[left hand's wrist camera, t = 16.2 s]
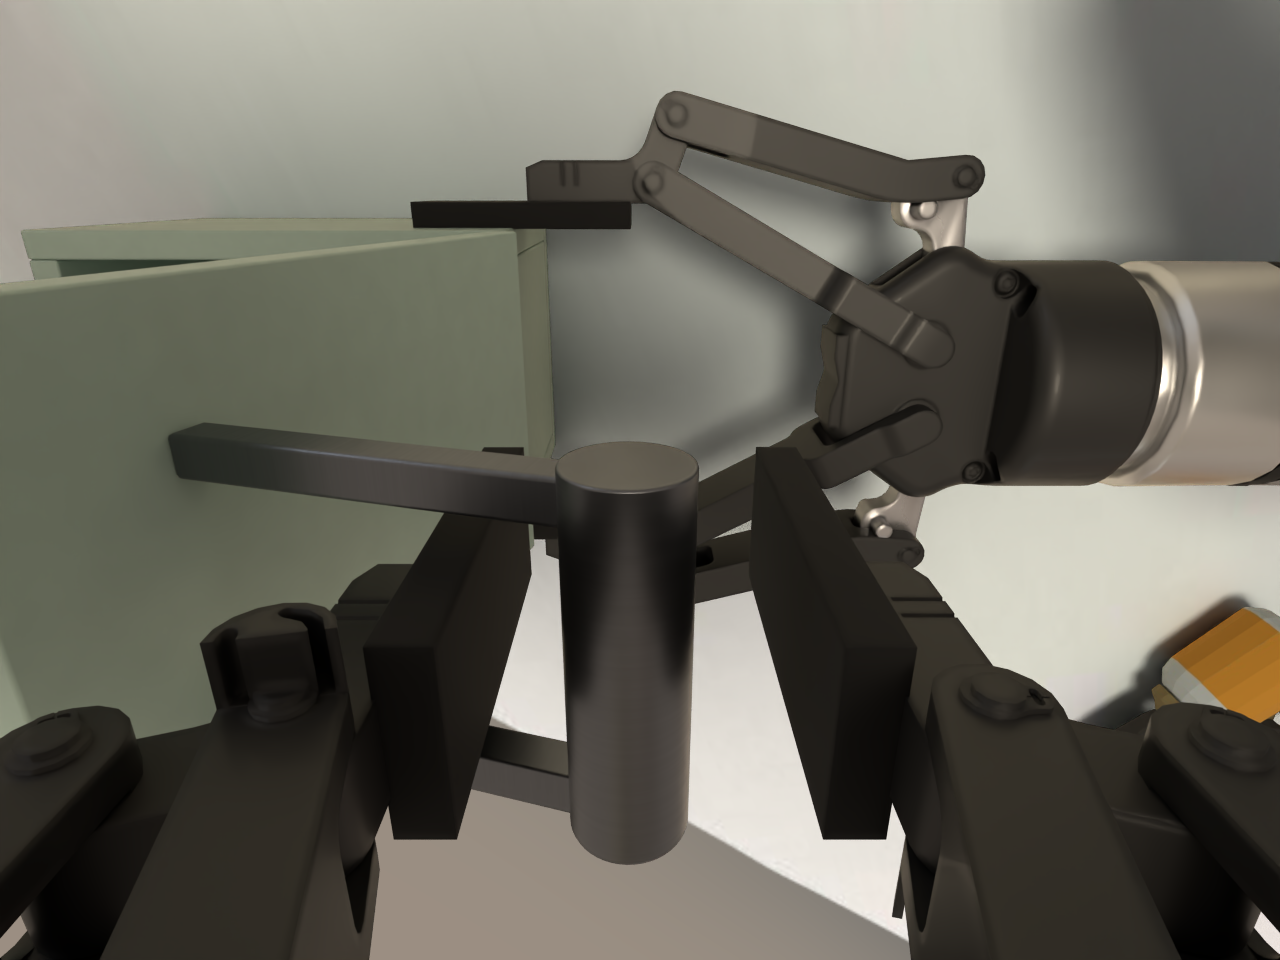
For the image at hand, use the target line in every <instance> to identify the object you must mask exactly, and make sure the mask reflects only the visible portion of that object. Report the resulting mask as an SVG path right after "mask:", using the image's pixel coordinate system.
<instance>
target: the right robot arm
mask: <svg viewBox="0 0 1280 960" xmlns="http://www.w3.org/2000/svg"><path fill="white" fill-rule="evenodd" d="M686 147H687V148H691V149H694V150H697V151H701V152H704V153H707V154H711V155H714V156H718V157H721V158H724V159H728V160H731V161H734V162H738V163H741V164H745V165H748V166H751V167H755V168H758V169H761V170H765V171H768V172H771V173H775V174H778V175H782V176H785V177H788V178H792V179H795V180H798V181H802V182H805V183H809V184H812V185H815V186H819V187H822V188H825V189H829V190H832V191H836V192H839V193H842V194H846V195H849V196H852V197H856V198H860V199H865V200H870V201H880V202H891V215H892V218H893V220H894V221H895V222H896V224H898V225H899V226H901V227H906V228H911V229H913V230H915V231H917V233H918V234H919V235H920V237H921V239H922V244H923V248H922V249H920V250H918V251H917V252H915V253H914V254H913V255H911V256H910V257H908V258H907V259H905V260H904V261H902V262H901V263H899V264H898V265H896V266H895V267H894V268H892V269H891V270H889V271H888V272H886V273H885V274H883V275H882V276H880V277H879V278H878V279H876V280H875V281H873V282H872V283H870V284H869V285H867V284H865V283H863V282H862V281H860V280H858V279H857V278H855V277H853V276H852V275H850V274H848V273H846V272H844V271H843V270H841V269H839V268H837V267H835V266H834V265H832V264H830V263H829V262H827V261H825V260H824V259H822V258H820V257H819V256H817V255H815V254H814V253H812V252H810V251H809V250H807V249H805V248H804V247H802V246H800V245H799V244H797V243H795V242H794V241H792V240H790V239H789V238H787V237H785V236H784V235H782V234H780V233H779V232H777V231H776V230H774V229H772V228H771V227H769V226H767V225H766V224H764V223H762V222H761V221H759V220H757V219H756V218H754V217H752V216H751V215H749V214H747V213H746V212H744V211H742V210H741V209H739V208H737V207H736V206H734V205H732V204H731V203H729V202H727V201H726V200H724V199H722V198H721V197H719V196H717V195H716V194H714V193H712V192H711V191H709V190H707V189H706V188H704V187H702V186H701V185H699V184H697V183H696V182H694V181H692V180H691V179H689V178H687V177H686V176H684V175H682V174H681V173H679V172H678V170H679V167H680V164H681V161H682V159H683V156H684V153H685V150H686ZM984 178H985V169H984V166H983V164H982V162H981V160H979V159H978V158H976V157H975V156H971V155H959V156H949V157H938V158H927V159H916V160H906V159H902V158H899V157H896V156H893V155H889V154H886V153H883V152H879V151H876V150H873V149H869V148H866V147H863V146H860V145H856V144H853V143H850V142H846V141H843V140H840V139H837V138H833V137H830V136H827V135H823V134H820V133H817V132H814V131H810V130H807V129H804V128H800V127H797V126H794V125H790V124H787V123H784V122H781V121H777V120H774V119H771V118H767V117H764V116H761V115H758V114H754V113H751V112H748V111H744V110H741V109H738V108H735V107H731V106H728V105H725V104H721V103H718V102H715V101H711V100H708V99H705V98H702V97H698V96H695V95H692V94H688V93H685V92H680V91H673V92H670V93H668V94H666V95H665V96H664V97H663V98H662V99H661V100H660V101H659V103H658V106H657V108H656V111H655V114H654V117H653V120H652V123H651V126H650V129H649V132H648V135H647V138H646V141H645V143H644V145H643V147H642V149H641V150H640V151H639V152H638V153H637V154H636V155H635V156H633V157H632V158H629V159H627V160H542V161H540V162H537V163H535V164H533V165H531V166H528V167H526V181H527V200H528V201H420V202H410V203H411V212H412V222H413V228H512V229H631V203H645V204H648V205H650V206H652V207H654V208H655V209H657V210H659V211H660V212H662V213H664V214H665V215H667V216H669V217H671V218H672V219H674V220H676V221H677V222H679V223H681V224H682V225H684V226H686V227H688V228H689V229H691V230H693V231H694V232H696V233H698V234H700V235H701V236H703V237H705V238H706V239H708V240H710V241H711V242H713V243H715V244H717V245H718V246H720V247H722V248H723V249H725V250H727V251H728V252H730V253H732V254H734V255H735V256H737V257H739V258H740V259H742V260H744V261H746V262H747V263H749V264H751V265H752V266H754V267H756V268H757V269H759V270H761V271H763V272H764V273H766V274H768V275H769V276H771V277H773V278H774V279H776V280H778V281H780V282H781V283H783V284H785V285H786V286H788V287H790V288H792V289H793V290H795V291H797V292H798V293H800V294H802V295H803V296H805V297H807V298H809V299H810V300H812V301H814V302H815V303H817V304H819V305H820V306H822V307H824V308H825V309H827V310H829V311H830V312H832V313H833V314H832V316H831V317H830V319H829V321H828V324H827V325H822V336H821V352H822V358H823V363H824V372H823V374H822V377H821V380H820V383H819V385H818V388H817V391H816V402H815V412H816V413H817V415H818V416H819V417H817V418H815V419H813V420H811V421H809V422H807V423H805V424H803V425H801V426H799V427H798V428H796V429H795V430H794V431H793V432H792V433H791V435H790V436H789V437H788V438H786V439H784V440H782V441H780V442H778V443H776V444H774V445H772V446H770V447H796V448H797V449H798V451H799V453H800V454H801V456H802V458H803V459H804V461H805V463H806V464H807V466H808V468H809V469H810V471H811V473H812V474H813V476H814V477H815V479H816V481H817V482H818V484H819V486H820V487H821V489H828V488H832V487H835V486H837V485H839V484H841V483H843V482H845V481H847V480H849V479H852V478H854V477H856V476H858V475H860V474H862V473H864V472H866V471H868V470H870V471H871V472H873V473H874V474H875V475H877V476H878V477H879V478H881V479H882V480H883V481H885V482H886V483H888V484H889V485H890V486H889V489H888V490H887V491H886V492H885V493H884V494H883V495H882V496H879V497H877V498H871V499H863V500H861V501H860V502H859V504H858V507H857V508H856V509H845V510H835V512H836V514H837V515H838V517H839V519H840V520H841V522H842V524H843V525H844V527H845V529H846V530H847V532H848V534H849V535H850V537H851V539H852V540H853V542H854V544H855V545H856V547H857V548H858V550H859V552H860V553H861V555H862V557H863V558H864V560H865V561H902V562H904V563H905V564H907V565H909V566H910V567H912V568H914V567H916V566H917V565H918V564H920V563H921V562H922V559H923V557H924V548H923V546H922V545H921V543H920V542H919V541H918V539H917V538H916V531H917V527H918V523H919V519H920V515H921V511H922V507H923V503H924V499H925V496H929V495H932V494H934V493H936V492H938V491H940V490H942V489H945V488H947V487H950V486H954V485H958V484H977V485H991V486H1083V485H1090V484H1094V483H1097V482H1099V483H1103V484H1107V485H1111V486H1188V485H1228V486H1248V485H1280V262H1265V261H1129V262H1126V263H1123V264H1121V265H1117V264H1115V263H1113V262H1109V261H1099V260H986V259H983V258H981V257H979V256H978V255H976V254H975V253H973V252H972V251H970V250H968V249H966V248H964V245H965V231H966V217H967V203H968V197H971V196H972V195H974V194H975V193H976V192H978V190H979V189H980V187H981V186H982V184H983V182H984ZM755 458H756V454H754V455H752V456H750V457H748V458H746V459H744V460H742V461H740V462H738V463H736V464H734V465H732V466H730V467H728V468H726V469H724V470H722V471H720V472H718V473H716V474H714V475H712V476H710V477H708V478H706V479H704V480H702V481H701V482H699V484H698V516H697V547H696V578H695V604H696V603H700V602H705V601H709V600H713V599H718V598H722V597H726V596H731V595H735V594H739V593H744V592H748V591H752V590H753V589H752V585H751V582H750V578H749V575H748V573H749V556H750V540H751V530H748V531H744V532H740V533H735V534H731V535H727V536H723V537H719V538H715V537H717V536H719V535H721V534H723V533H725V532H727V531H729V530H731V529H733V528H735V527H738V526H740V525H742V524H744V523H746V522H748V521H750V520H752V507H753V491H754V475H755ZM533 532H534V539H546V555H548V556H551V557H554V558H557V559H559V550H558V528H554V527H547V526H539V525H533ZM713 538H714V539H713Z"/></svg>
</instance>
